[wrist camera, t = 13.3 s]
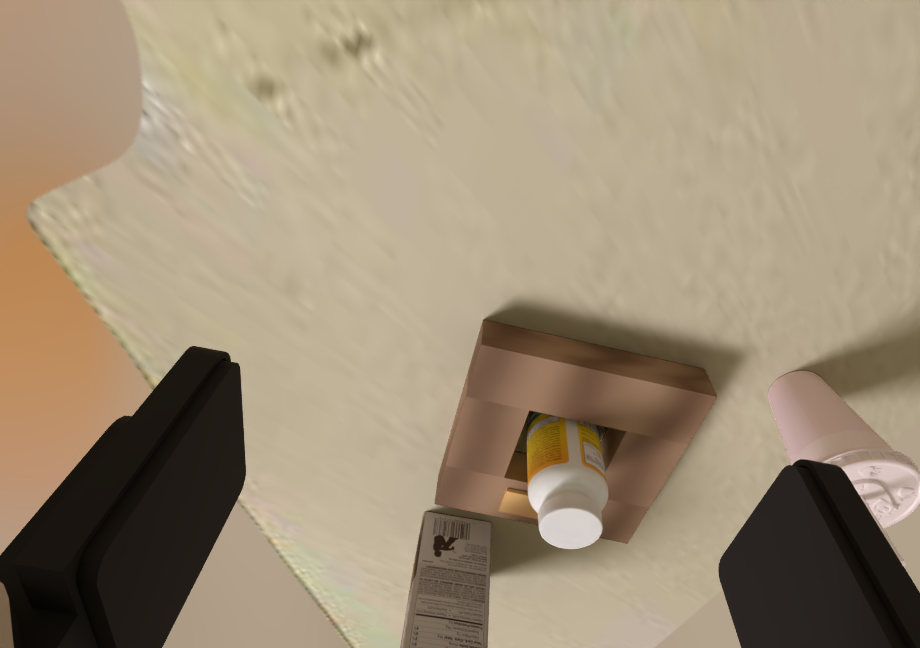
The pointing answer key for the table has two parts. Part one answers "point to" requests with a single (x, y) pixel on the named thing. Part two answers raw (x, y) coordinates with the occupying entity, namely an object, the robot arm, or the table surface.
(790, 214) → the table surface
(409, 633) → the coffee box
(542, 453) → the supplement bottle
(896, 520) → the smoothie
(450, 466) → the socket block
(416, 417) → the table surface
